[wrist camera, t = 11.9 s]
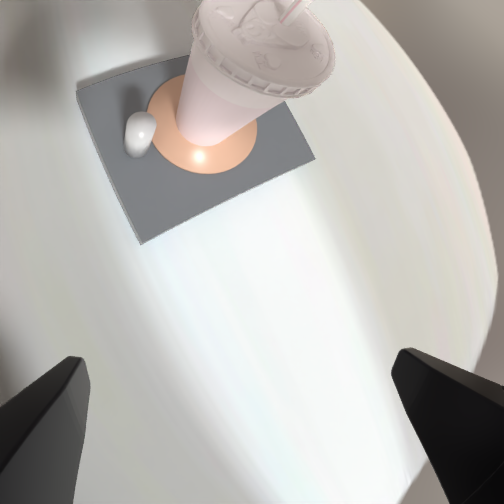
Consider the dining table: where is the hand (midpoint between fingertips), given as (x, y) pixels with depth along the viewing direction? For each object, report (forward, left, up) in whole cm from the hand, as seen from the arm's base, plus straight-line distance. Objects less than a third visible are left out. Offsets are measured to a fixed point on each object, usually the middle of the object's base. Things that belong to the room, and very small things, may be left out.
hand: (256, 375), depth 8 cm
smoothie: (+7, +10, -11) cm, 17 cm away
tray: (+8, +10, -12) cm, 18 cm away
